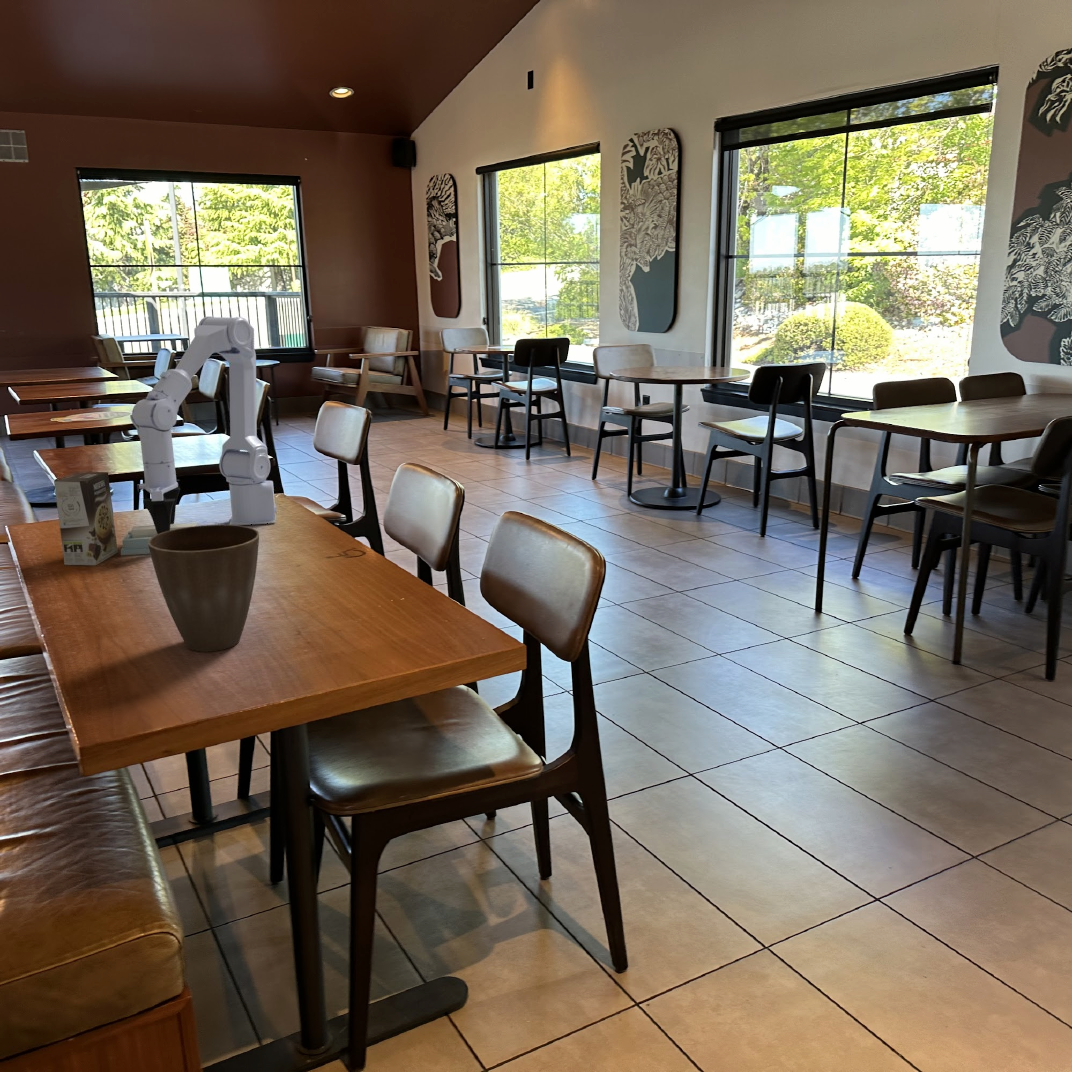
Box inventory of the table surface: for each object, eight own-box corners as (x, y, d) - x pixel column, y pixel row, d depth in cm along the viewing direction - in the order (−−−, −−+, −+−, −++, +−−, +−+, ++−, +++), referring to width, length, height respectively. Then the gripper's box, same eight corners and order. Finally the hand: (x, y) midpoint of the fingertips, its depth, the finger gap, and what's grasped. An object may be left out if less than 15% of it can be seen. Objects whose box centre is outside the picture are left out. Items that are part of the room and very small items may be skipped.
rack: (211, 538, 196) (210, 525, 195) (208, 549, 187) (206, 535, 187) (128, 543, 192) (127, 530, 191) (121, 555, 184) (119, 541, 183)
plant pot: (230, 618, 149) (220, 518, 145) (288, 639, 140) (280, 534, 136) (139, 645, 138) (127, 539, 134) (196, 671, 129) (185, 557, 125)
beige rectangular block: (198, 537, 192) (197, 522, 191) (197, 541, 189) (195, 526, 189) (135, 542, 189) (133, 526, 189) (132, 545, 187) (130, 530, 186)
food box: (97, 565, 177) (86, 480, 173) (63, 565, 177) (51, 480, 173) (119, 552, 186) (109, 471, 182) (86, 552, 186) (76, 471, 182)
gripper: (142, 456, 191) (149, 521, 195) (130, 469, 178) (139, 539, 181) (179, 454, 193) (186, 519, 196) (170, 467, 179) (178, 537, 183)
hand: (166, 529), depth 189 cm, fingers open, 7 cm apart
